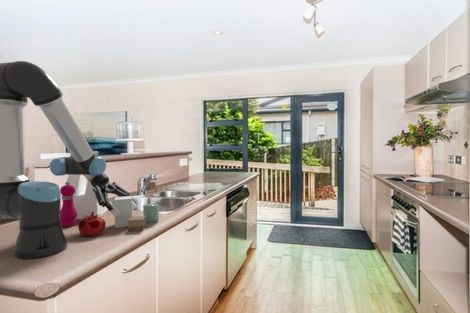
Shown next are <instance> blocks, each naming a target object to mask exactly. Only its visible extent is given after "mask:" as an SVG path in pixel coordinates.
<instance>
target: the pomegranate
mask: <svg viewBox="0 0 470 313" xmlns="http://www.w3.org/2000/svg"><path fill="white" fill-rule="evenodd" d="M98 215H100V214H98ZM98 215H95V216H94V212H92V214H91V215H90V216H87V217H86V218H85V216H84V218H83V219H79V222H78V224H77V228H78V231H79V234H80V235H81V236H83V237H96V236H100V235H101V234H102V233H103V232H105V229H106V224H107V223H106V221H105V220H104V219H103V218H101V216H99V217H97V216H98Z"/></svg>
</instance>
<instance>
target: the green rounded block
mask: <svg viewBox="0 0 470 313" xmlns="http://www.w3.org/2000/svg"><path fill="white" fill-rule="evenodd" d="M142 208H143V210H142V213H143V215H142V216H146V223H153V224H156V223H155V222H157V223H159V222H160V219H159V217H160V212H159V204H158V203H145V204H143V206H142ZM158 221H159V222H158Z"/></svg>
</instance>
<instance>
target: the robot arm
mask: <svg viewBox="0 0 470 313" xmlns="http://www.w3.org/2000/svg"><path fill="white" fill-rule="evenodd" d="M63 96H64V94H63V93H62V90H61V89H60V87H59V85H58V84H57V83H56V81H55V80H54V79H53V78H52V77H51V76H50V75H49V73H47V72H46V71H45V70H44V69H43V68H42V67H40V66H38V65H37V64H35V63H32V62H30V61H24V60H17V61H10V62H0V219H14V220H18V222H19V223H18V224H19V232H18V236H17V237H16V238H17V239H16V241H15V244H14V247H13V257H14V258H16V259H22V260H23V259H24V260H25V259H26V260H29V259H38V258H43V257H44V258H45V257H49V256H51V255H55V254H58V253H61V252H63V251H64V250H65V249H67V248H68V241H67V240H68V239H67V238H66V237H65V236H66V235H65V233H64V230H63V227H61V222H62V221H61V209H62V205H61V203H62V201H61V197H62V194H61V193H60V189H61V188H60V187H59V185H58V184H57V183H54V182H50V181H36V180H35V181H30V178H29V177H28V176H27V175H25V161H24V160H25V159H24V158H25V157H24V156H25V155H24V150H25V149H24V122H23V121H24V117H23V116H24V114H23V109H24V108H25V107H26V106H28V99H29V100H31V102H32V103H33V105H34V106H36V107H39V108H40V110H41V111H42V113H43V115H44V116H45V117H46V119H47V121H48V122H49V123H50V125H51V126H52V128H53V129H54V131H55V132H56V134H57V136H58V137H59V138H60V140H61V142H62V143H63V144H64V145H63V146H65V147H66V149H67V151H68V152H69V154H70V155H69V156H64V157H63V156H62V157H57V158H56V157H55V158H54V159H52V160H51V161H50V163H49V171H50V173H51V174H52V175H53V176H55V177H61V176H62V177H63V176H65V175H67V176H68V174H69V175H83V176H84V177H85V178H86V180H88V181H89V182H90V184H91V185H92V186H93V187H94V188H93V189H92V190H93V191H94V193H95V195H96V198H97V201H98V203H99V205H100V206H102V207H106V208H107V209H108V210H107V211H108V212H110V213H111V214H112V215H113V217H114V218H115V217H117V215H118V214H119V213H120V212H119V211H118V210H117V209H116V207H115V206H114V204H113V202H112V201H109V194H110V195H116V197H126V196H131V193H130V192H129V191H127V190H126V189H124V188H123V187H122V186H120V185H118V184H117V183H116V181H113V182H112V183H111V182H109V181H110V178H109V177H108V175H106V173H105V171H106V169H107V161H105V159H104V158H103V157H100V156H96V154H95V153H94V150H92V148H91V146H90V144H89V143H88V140H86V137H85V136H84V134H83V133H82V131H81V129H80V128H79V126H78V124H77V122H76V121H75V118H74V117H73V115H72V113H71V111H70V110H69V108H68V107H67V104H66V103H65V102H64V100H63V99H62V98H63ZM136 208H137V204H136V203H135V202H134V201H133V200H132V211H135V209H136Z"/></svg>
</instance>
